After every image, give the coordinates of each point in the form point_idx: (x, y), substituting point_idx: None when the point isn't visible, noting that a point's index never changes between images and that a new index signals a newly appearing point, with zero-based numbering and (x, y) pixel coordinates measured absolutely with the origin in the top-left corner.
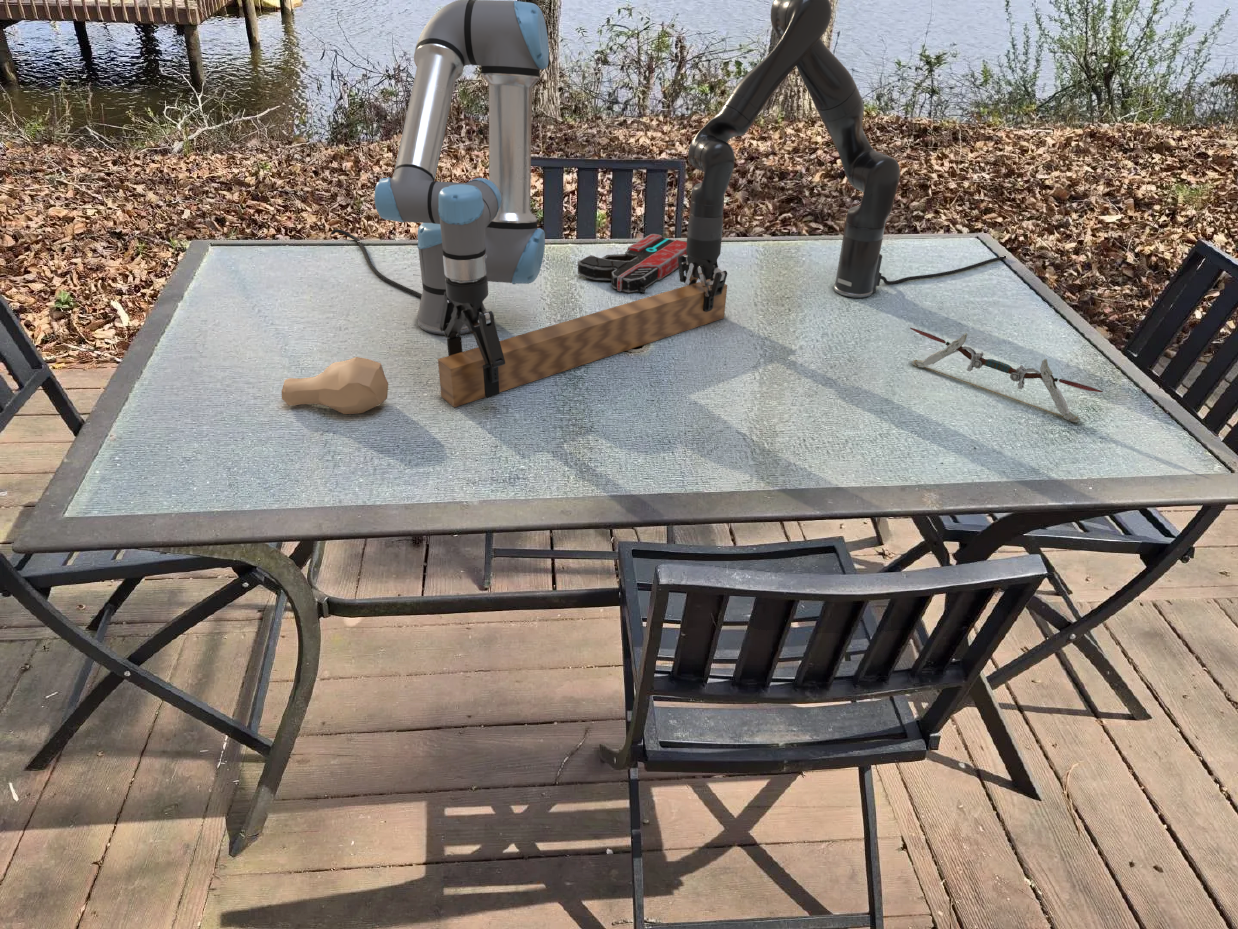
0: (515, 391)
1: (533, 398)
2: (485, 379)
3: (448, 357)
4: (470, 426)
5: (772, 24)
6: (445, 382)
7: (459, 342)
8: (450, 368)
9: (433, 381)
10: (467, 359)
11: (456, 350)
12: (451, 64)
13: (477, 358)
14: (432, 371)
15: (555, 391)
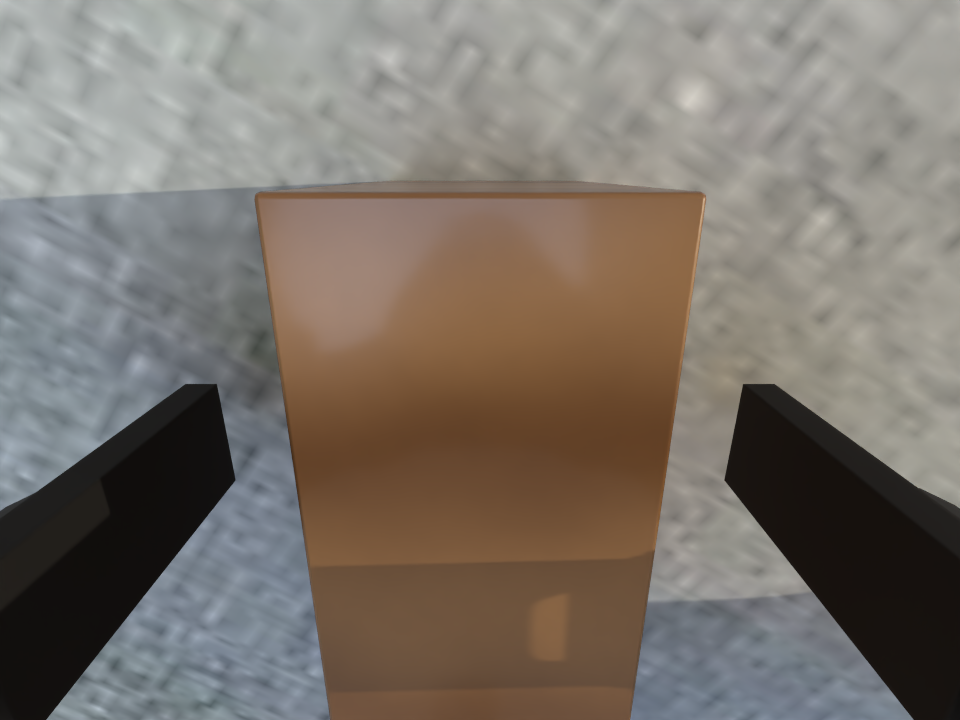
0: None
1: (250, 600)
2: (68, 471)
3: (636, 361)
4: (82, 141)
5: None
6: (488, 184)
7: (888, 655)
8: (273, 199)
9: (813, 251)
10: (417, 528)
11: (837, 547)
12: None
13: (372, 622)
14: (936, 317)
15: (265, 700)
